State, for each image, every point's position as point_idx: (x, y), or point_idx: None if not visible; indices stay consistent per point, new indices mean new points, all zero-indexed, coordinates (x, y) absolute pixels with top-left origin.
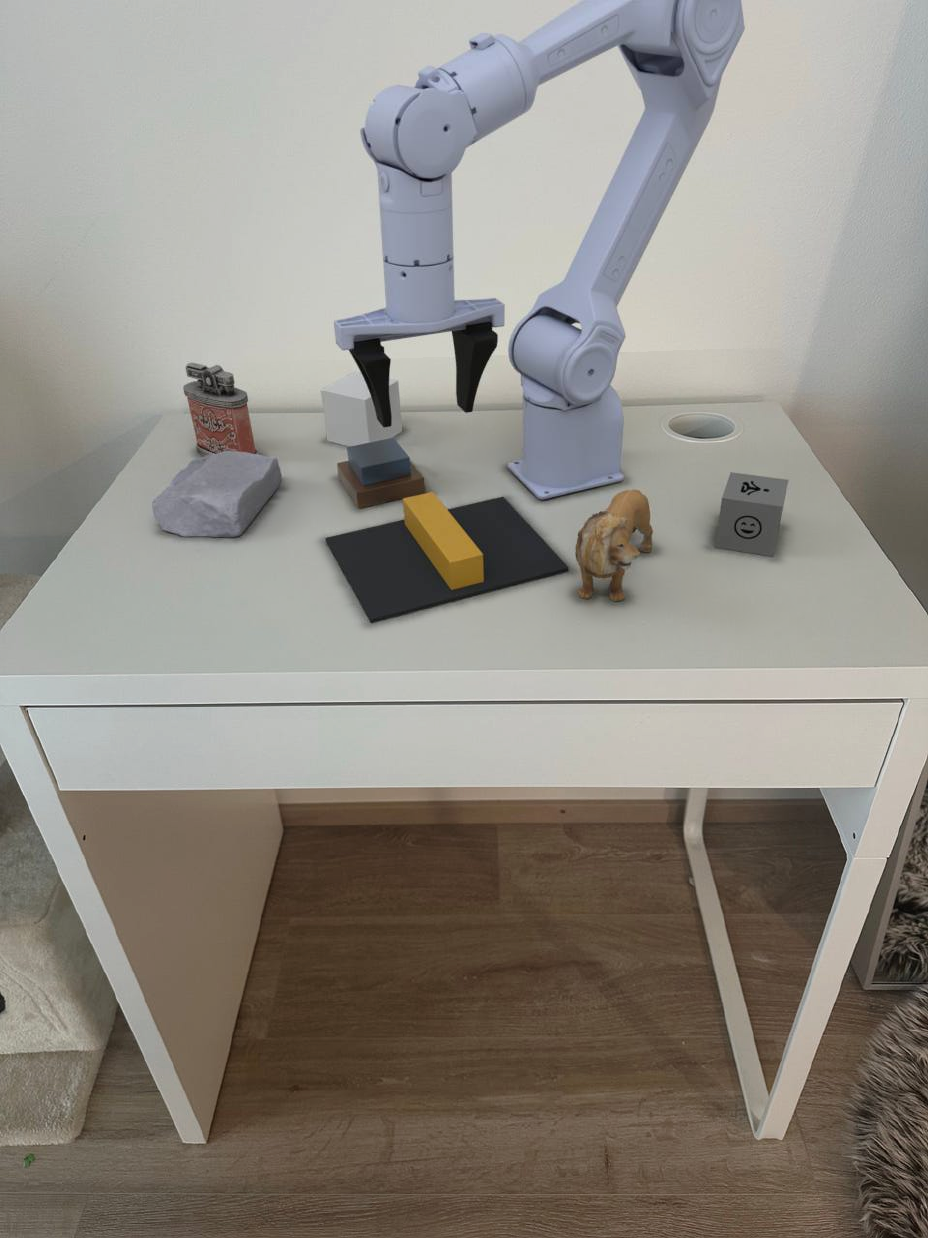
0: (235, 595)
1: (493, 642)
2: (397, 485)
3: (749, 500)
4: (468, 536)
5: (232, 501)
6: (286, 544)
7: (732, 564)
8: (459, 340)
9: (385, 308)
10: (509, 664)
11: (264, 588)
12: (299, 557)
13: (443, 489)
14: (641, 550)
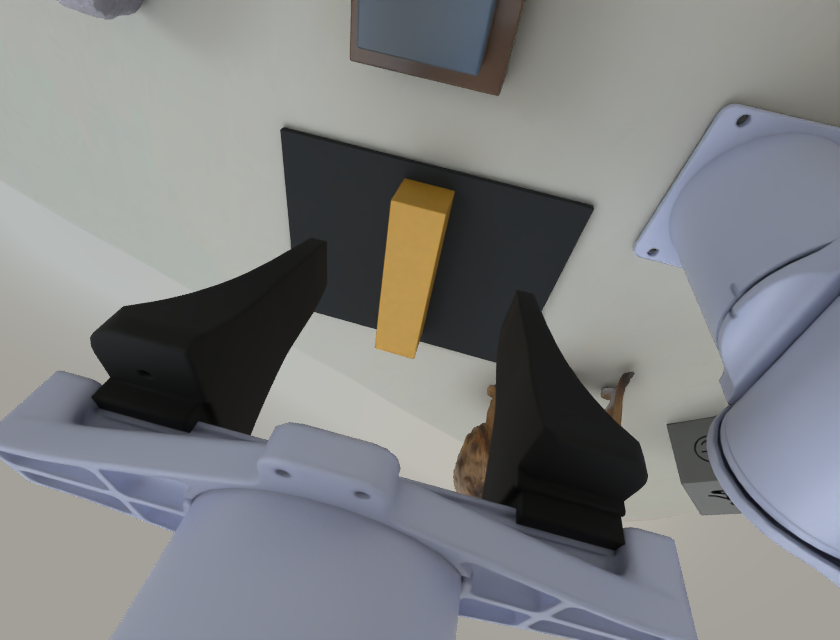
0: (159, 172)
1: (385, 377)
2: (438, 81)
3: (695, 498)
4: (420, 329)
5: (80, 6)
6: (223, 91)
7: (644, 440)
8: (513, 449)
9: (192, 481)
10: (383, 395)
11: (194, 182)
12: (240, 142)
13: (543, 93)
14: (601, 391)
